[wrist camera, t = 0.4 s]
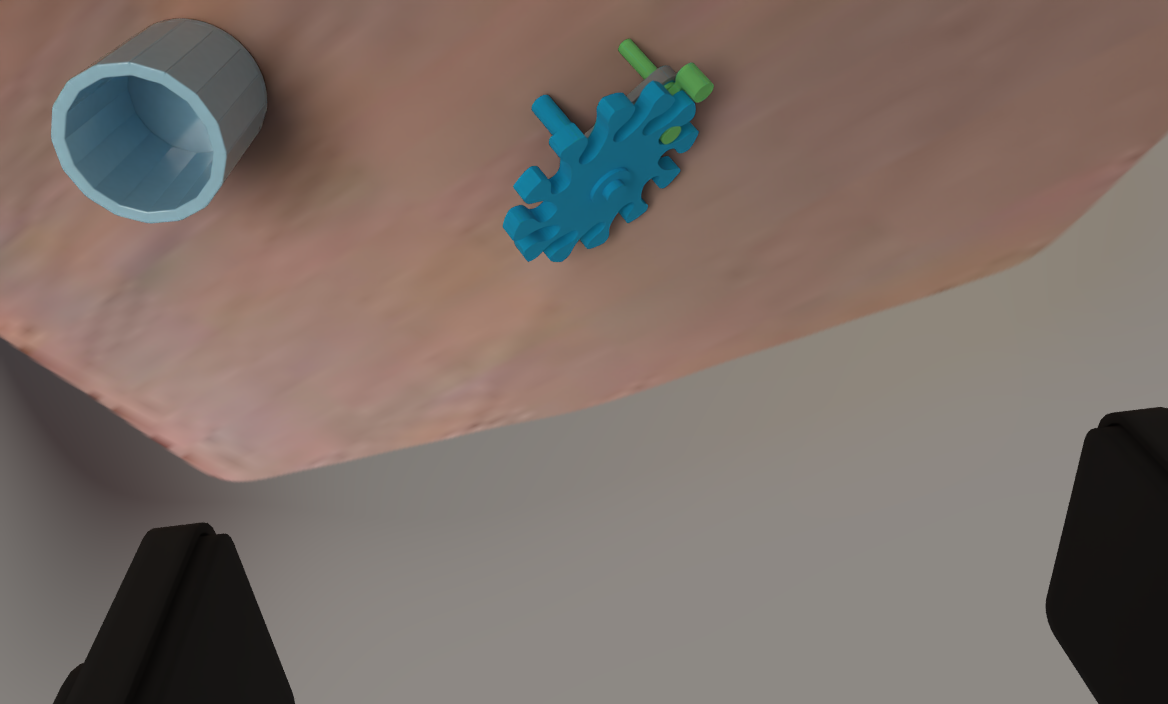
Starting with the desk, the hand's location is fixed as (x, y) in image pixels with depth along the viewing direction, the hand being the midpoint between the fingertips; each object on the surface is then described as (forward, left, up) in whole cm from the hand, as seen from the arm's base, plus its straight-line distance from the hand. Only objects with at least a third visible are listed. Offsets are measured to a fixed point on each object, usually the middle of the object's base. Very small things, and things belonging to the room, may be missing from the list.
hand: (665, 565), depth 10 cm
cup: (+3, -16, -35) cm, 39 cm away
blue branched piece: (+7, +2, -35) cm, 36 cm away
